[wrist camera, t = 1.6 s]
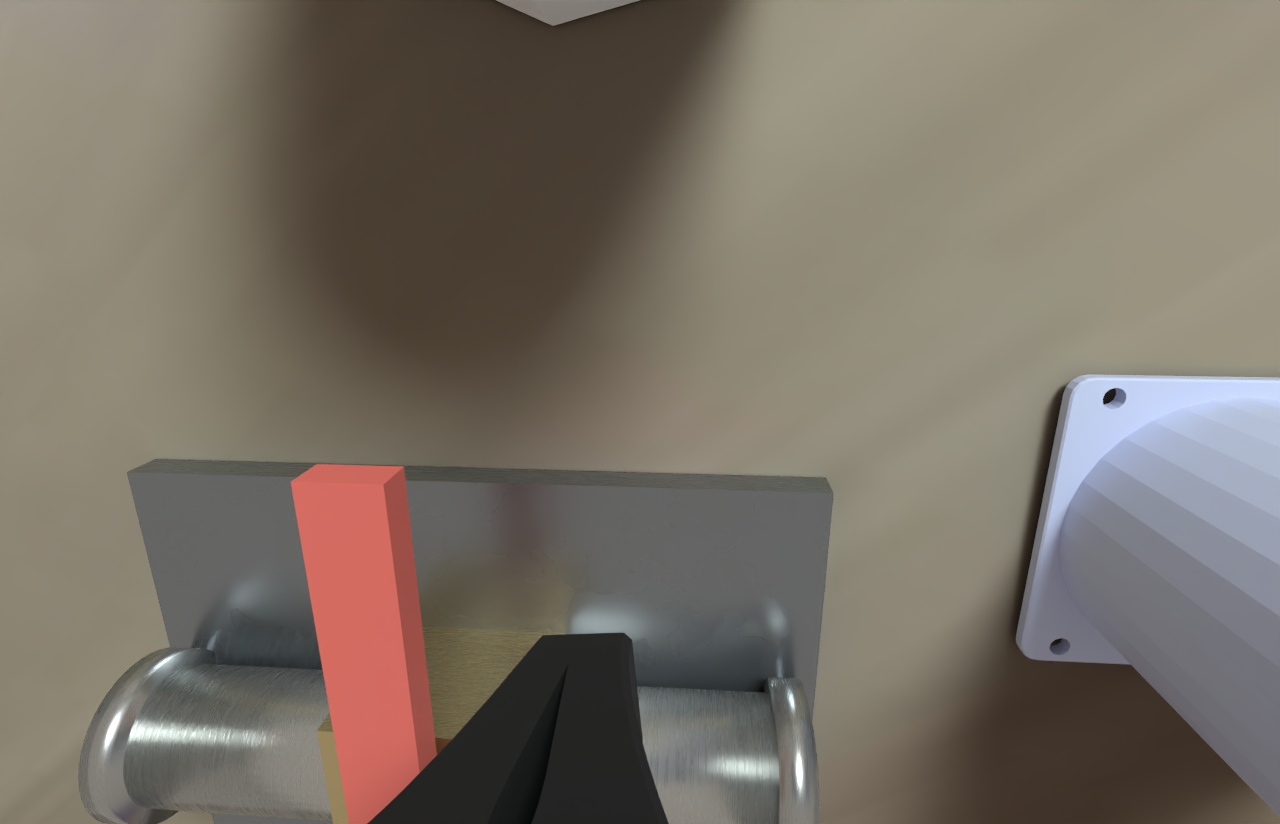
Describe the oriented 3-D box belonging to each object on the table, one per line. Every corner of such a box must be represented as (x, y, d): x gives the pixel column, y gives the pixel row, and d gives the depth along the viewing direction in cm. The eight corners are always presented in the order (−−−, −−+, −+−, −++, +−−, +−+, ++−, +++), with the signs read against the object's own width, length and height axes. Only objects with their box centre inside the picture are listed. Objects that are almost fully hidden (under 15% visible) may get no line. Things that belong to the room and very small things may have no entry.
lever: (476, 915, 15) (463, 959, 14) (364, 906, 15) (345, 949, 14) (431, 467, 12) (410, 488, 11) (289, 463, 12) (257, 483, 11)
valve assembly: (825, 477, 17) (890, 607, 12) (790, 871, 22) (826, 1109, 16) (155, 459, 19) (-79, 566, 13) (242, 831, 23) (92, 1038, 17)
